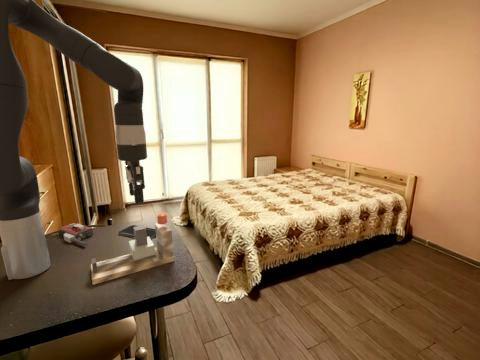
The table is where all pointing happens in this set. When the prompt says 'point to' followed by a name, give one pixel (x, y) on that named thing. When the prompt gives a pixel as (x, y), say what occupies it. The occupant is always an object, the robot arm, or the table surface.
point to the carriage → (141, 244)
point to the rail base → (129, 265)
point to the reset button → (162, 218)
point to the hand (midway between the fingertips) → (136, 198)
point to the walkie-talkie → (75, 233)
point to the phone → (130, 232)
